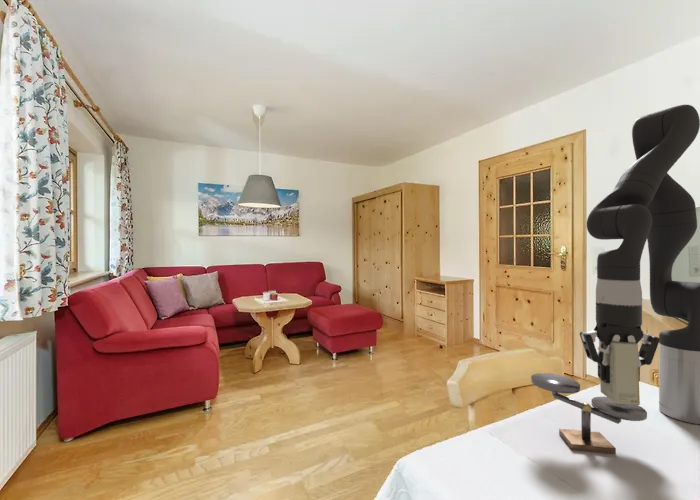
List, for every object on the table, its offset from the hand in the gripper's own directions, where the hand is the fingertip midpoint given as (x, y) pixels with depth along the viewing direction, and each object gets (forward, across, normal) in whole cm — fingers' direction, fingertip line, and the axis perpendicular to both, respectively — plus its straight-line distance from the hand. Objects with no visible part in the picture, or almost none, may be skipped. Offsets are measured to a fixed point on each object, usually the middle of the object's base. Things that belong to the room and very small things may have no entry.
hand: (618, 382), depth 69 cm
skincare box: (+4, 0, 0) cm, 4 cm away
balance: (+13, +6, 0) cm, 15 cm away
